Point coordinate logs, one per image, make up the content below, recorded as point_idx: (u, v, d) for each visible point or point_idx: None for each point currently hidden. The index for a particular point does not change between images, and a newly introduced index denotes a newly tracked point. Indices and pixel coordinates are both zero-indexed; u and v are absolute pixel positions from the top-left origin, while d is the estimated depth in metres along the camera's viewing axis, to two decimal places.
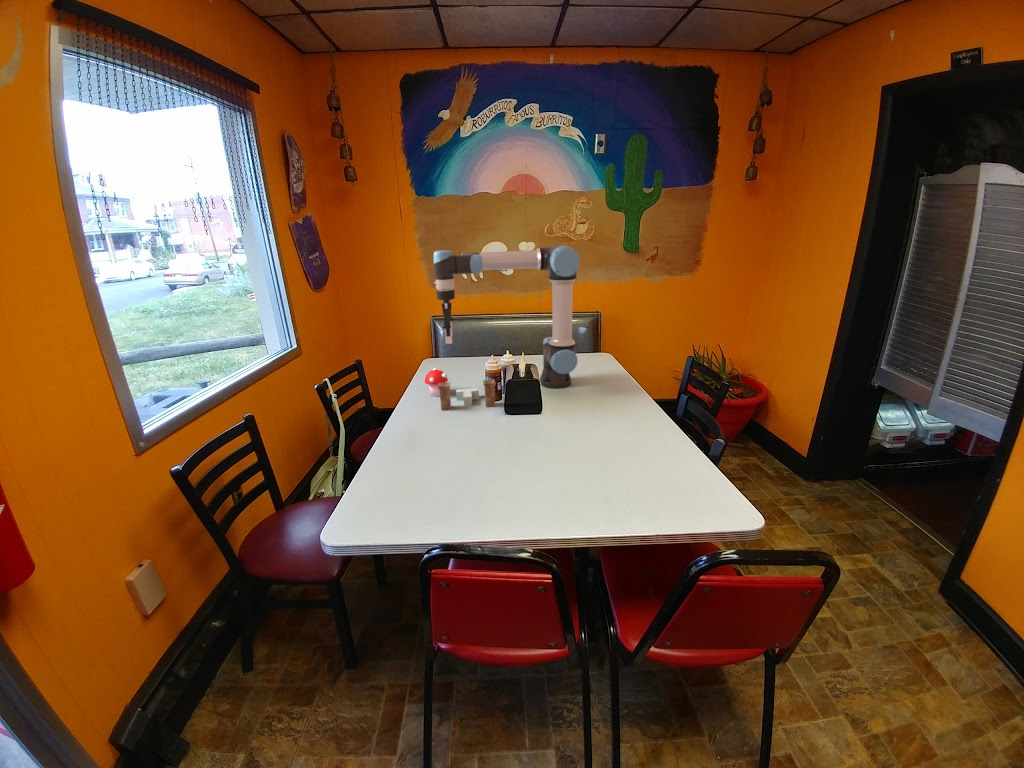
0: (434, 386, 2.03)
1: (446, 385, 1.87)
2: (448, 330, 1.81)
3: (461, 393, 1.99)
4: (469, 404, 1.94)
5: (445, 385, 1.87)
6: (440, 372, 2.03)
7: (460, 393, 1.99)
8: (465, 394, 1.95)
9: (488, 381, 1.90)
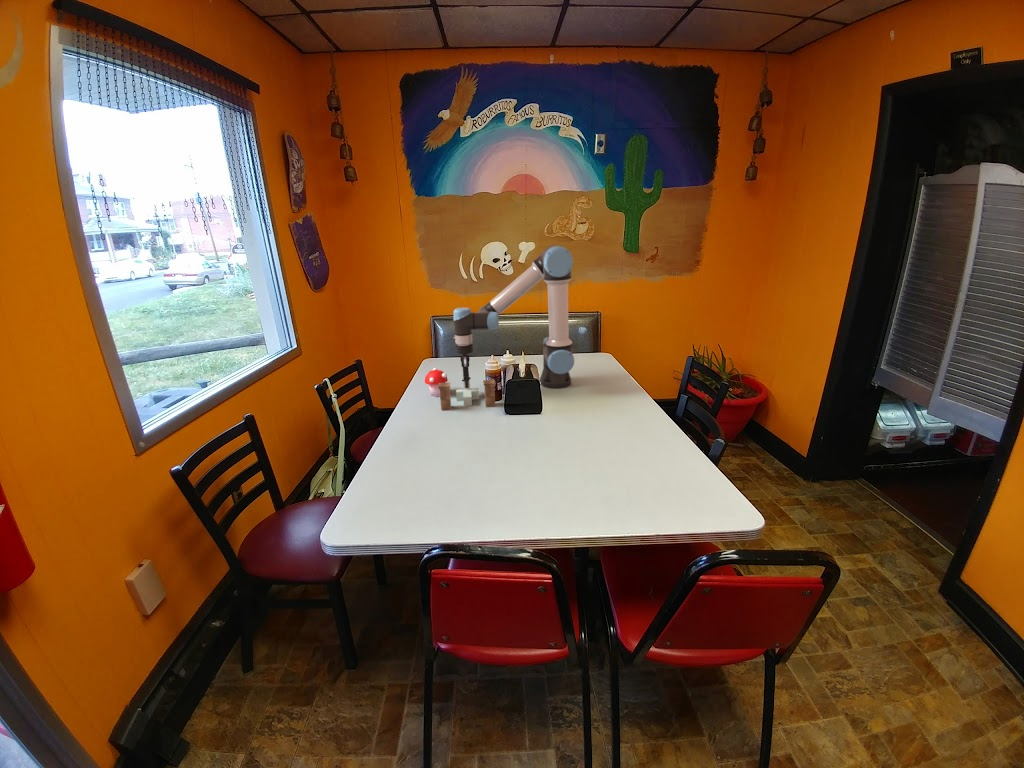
0: (434, 386, 2.03)
1: (446, 385, 1.87)
2: (467, 382, 2.00)
3: (461, 393, 1.99)
4: (469, 404, 1.93)
5: (445, 385, 1.87)
6: (440, 372, 2.03)
7: (460, 393, 1.99)
8: (465, 394, 1.95)
9: (488, 381, 1.90)
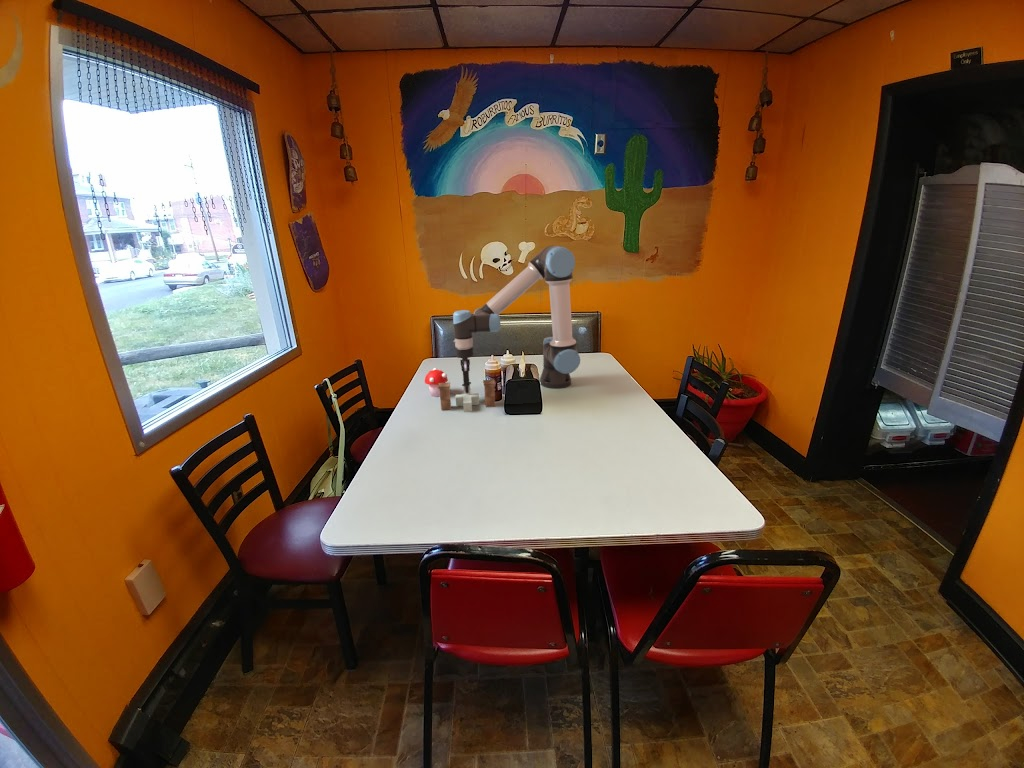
0: (434, 386, 2.03)
1: (446, 385, 1.87)
2: (467, 387, 1.94)
3: (460, 399, 1.92)
4: (469, 410, 1.87)
5: (445, 385, 1.87)
6: (440, 372, 2.03)
7: (460, 398, 1.92)
8: (465, 400, 1.89)
9: (488, 381, 1.90)
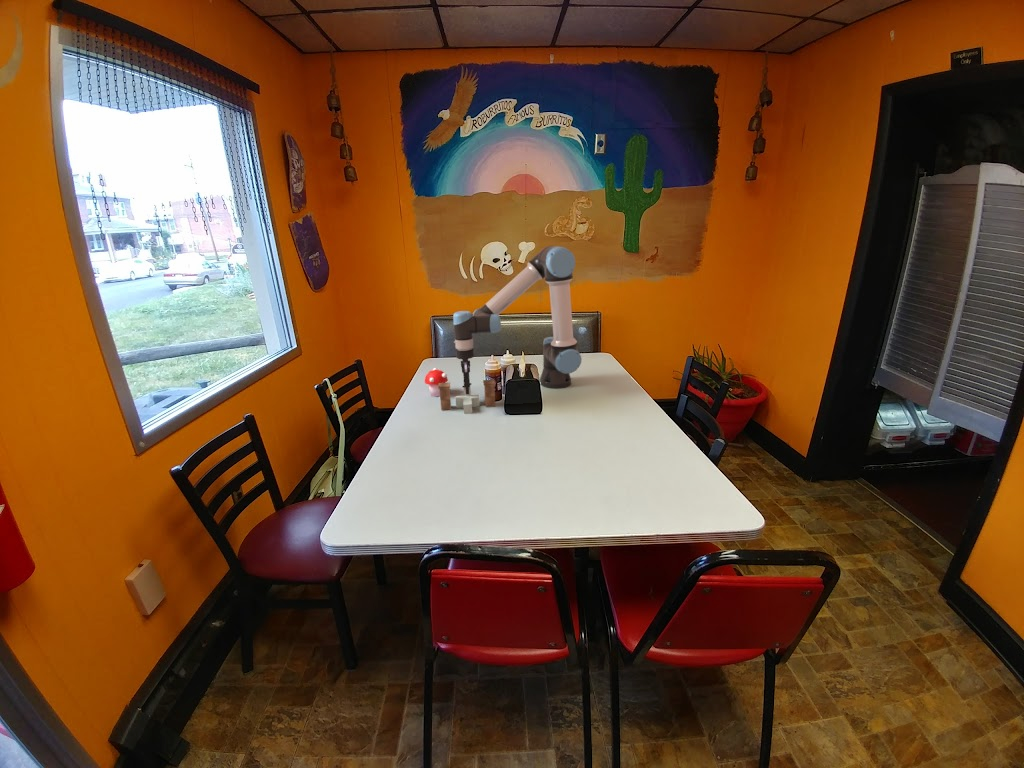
0: (434, 386, 2.03)
1: (446, 385, 1.87)
2: (467, 389, 1.92)
3: (460, 400, 1.91)
4: (469, 412, 1.86)
5: (445, 385, 1.87)
6: (440, 372, 2.03)
7: (460, 400, 1.91)
8: (465, 401, 1.87)
9: (488, 381, 1.90)
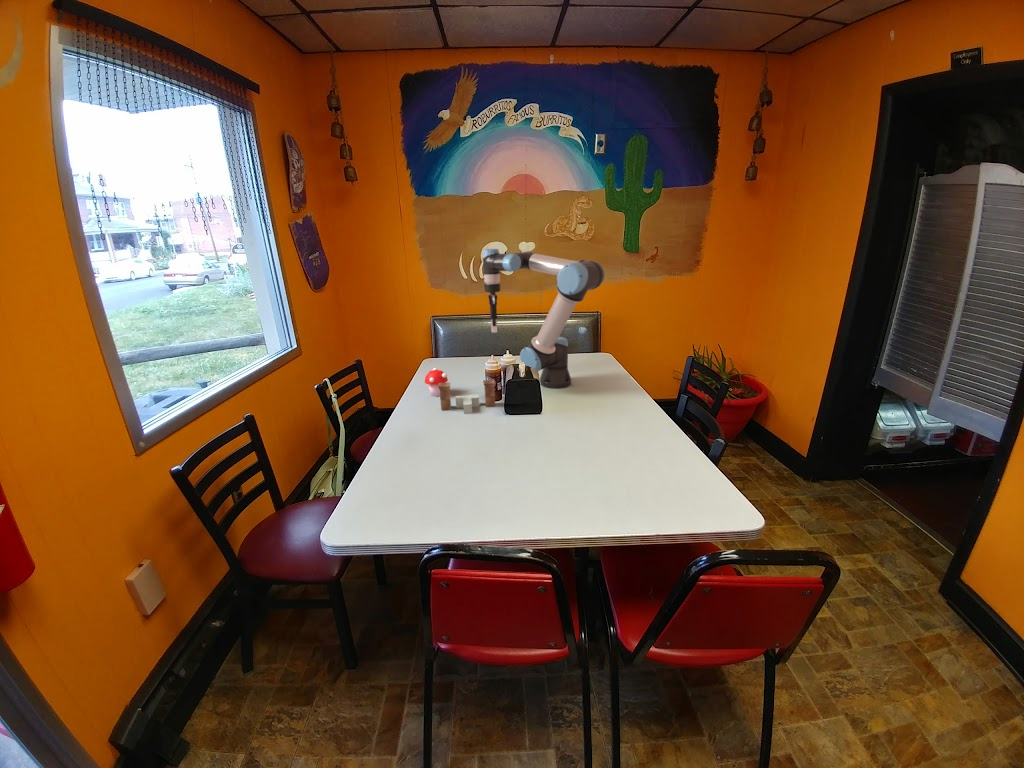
0: (434, 386, 2.03)
1: (446, 385, 1.87)
2: (494, 321, 2.14)
3: (460, 400, 1.91)
4: (469, 412, 1.86)
5: (445, 385, 1.87)
6: (440, 372, 2.03)
7: (460, 400, 1.91)
8: (465, 401, 1.87)
9: (488, 381, 1.90)
